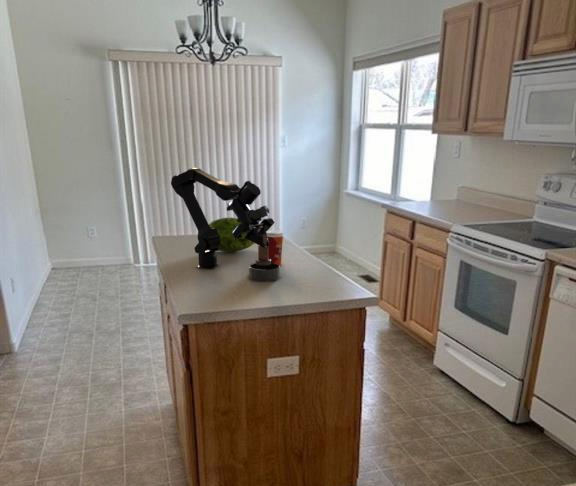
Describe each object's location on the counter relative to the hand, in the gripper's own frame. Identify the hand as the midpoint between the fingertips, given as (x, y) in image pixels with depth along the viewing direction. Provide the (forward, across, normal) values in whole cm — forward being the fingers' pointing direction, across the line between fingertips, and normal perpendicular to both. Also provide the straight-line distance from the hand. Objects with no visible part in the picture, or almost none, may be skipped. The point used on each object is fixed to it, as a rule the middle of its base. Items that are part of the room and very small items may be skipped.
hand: (266, 246), depth 198 cm
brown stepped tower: (+4, 0, +6) cm, 7 cm away
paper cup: (+2, +20, +17) cm, 26 cm away
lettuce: (-19, +29, +38) cm, 52 cm away
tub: (+7, +2, +11) cm, 13 cm away
